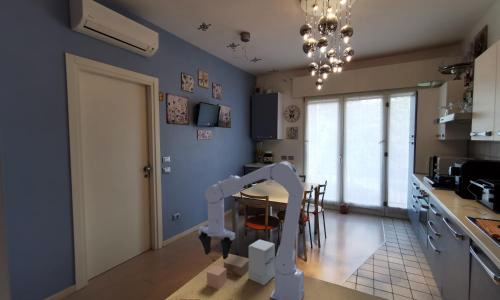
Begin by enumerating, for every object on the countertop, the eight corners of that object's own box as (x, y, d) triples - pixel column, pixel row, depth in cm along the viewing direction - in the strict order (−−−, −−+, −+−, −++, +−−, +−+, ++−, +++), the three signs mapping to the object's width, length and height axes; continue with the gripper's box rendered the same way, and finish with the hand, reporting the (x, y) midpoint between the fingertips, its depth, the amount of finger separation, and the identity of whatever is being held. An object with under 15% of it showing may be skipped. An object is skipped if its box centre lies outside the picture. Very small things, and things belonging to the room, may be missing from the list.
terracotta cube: (226, 281, 86) (226, 268, 85) (218, 289, 81) (218, 275, 81) (215, 278, 88) (215, 265, 88) (207, 285, 83) (206, 272, 83)
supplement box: (264, 286, 83) (264, 250, 82) (248, 278, 87) (247, 245, 87) (275, 276, 89) (275, 243, 88) (259, 269, 93) (259, 238, 93)
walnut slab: (250, 268, 95) (250, 258, 94) (241, 277, 88) (241, 267, 88) (233, 263, 98) (233, 254, 98) (223, 272, 92) (223, 262, 92)
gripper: (192, 218, 83) (193, 256, 84) (227, 224, 77) (227, 265, 77) (204, 213, 90) (205, 248, 90) (238, 218, 83) (238, 256, 84)
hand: (216, 255), depth 84 cm, fingers open, 7 cm apart
